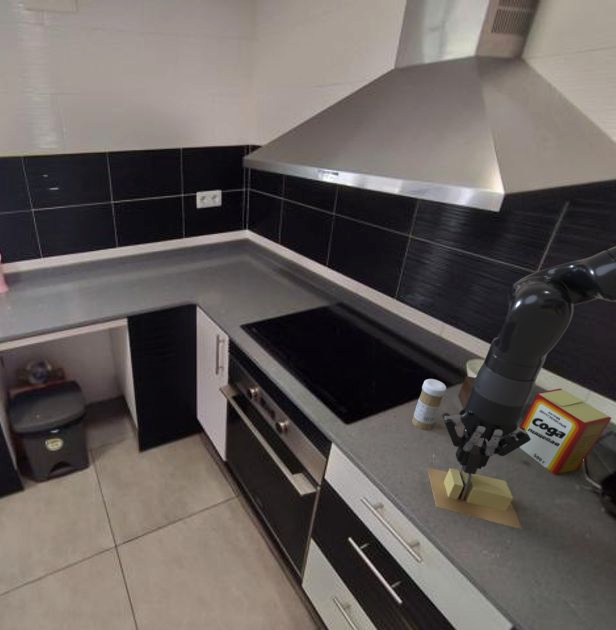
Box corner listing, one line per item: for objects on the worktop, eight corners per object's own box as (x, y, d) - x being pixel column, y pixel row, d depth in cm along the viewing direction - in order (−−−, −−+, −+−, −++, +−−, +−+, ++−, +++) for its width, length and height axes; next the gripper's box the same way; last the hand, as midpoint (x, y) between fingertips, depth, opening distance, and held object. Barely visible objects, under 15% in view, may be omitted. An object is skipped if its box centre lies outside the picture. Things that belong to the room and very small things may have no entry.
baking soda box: (575, 473, 81) (612, 416, 74) (551, 479, 80) (587, 421, 73) (531, 441, 90) (561, 387, 82) (509, 446, 88) (537, 391, 81)
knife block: (490, 406, 101) (501, 381, 97) (501, 426, 94) (513, 401, 90) (456, 399, 103) (465, 375, 99) (463, 419, 96) (474, 394, 93)
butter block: (498, 494, 76) (505, 481, 74) (505, 512, 72) (513, 498, 70) (461, 485, 78) (467, 472, 76) (466, 502, 74) (473, 488, 72)
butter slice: (452, 483, 78) (458, 469, 76) (457, 499, 75) (463, 486, 73) (443, 481, 78) (449, 467, 77) (448, 497, 75) (454, 483, 73)
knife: (461, 486, 77) (477, 442, 72) (466, 502, 74) (483, 457, 69) (451, 485, 78) (466, 441, 72) (456, 499, 75) (471, 455, 69)
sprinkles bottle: (429, 424, 95) (445, 381, 89) (431, 437, 91) (448, 392, 85) (409, 419, 96) (423, 376, 90) (410, 431, 93) (425, 387, 87)
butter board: (501, 489, 78) (503, 485, 78) (520, 533, 70) (522, 529, 69) (425, 470, 82) (427, 466, 82) (434, 510, 74) (436, 506, 73)
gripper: (459, 395, 63) (431, 469, 71) (560, 413, 59) (519, 489, 67) (448, 371, 70) (424, 441, 78) (539, 385, 66) (504, 457, 74)
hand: (468, 463), depth 72 cm, fingers closed on knife, 2 cm apart
